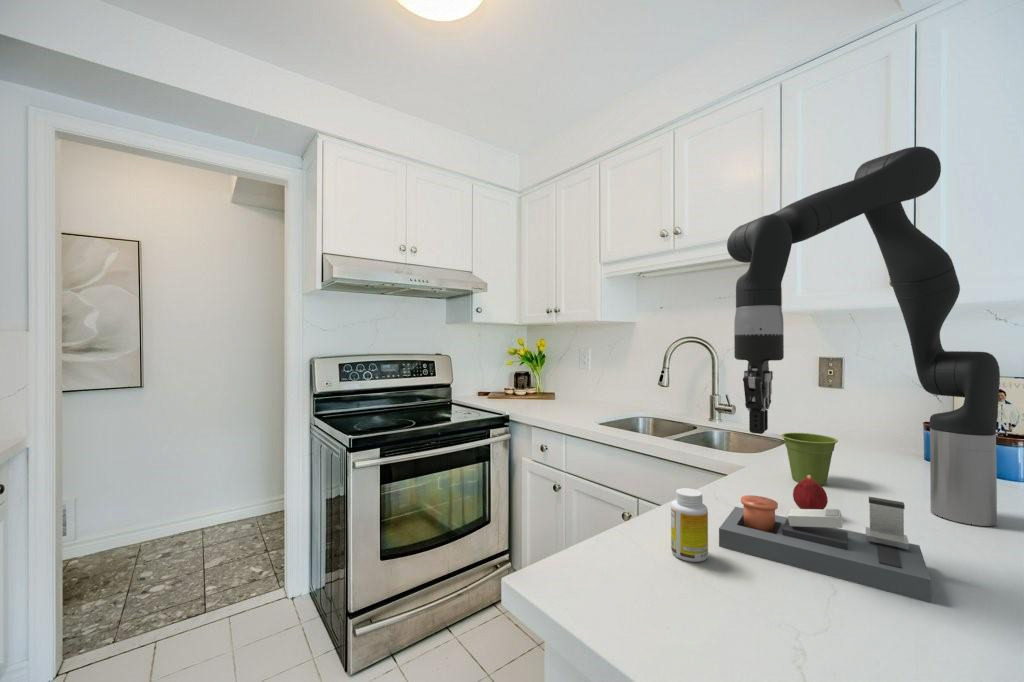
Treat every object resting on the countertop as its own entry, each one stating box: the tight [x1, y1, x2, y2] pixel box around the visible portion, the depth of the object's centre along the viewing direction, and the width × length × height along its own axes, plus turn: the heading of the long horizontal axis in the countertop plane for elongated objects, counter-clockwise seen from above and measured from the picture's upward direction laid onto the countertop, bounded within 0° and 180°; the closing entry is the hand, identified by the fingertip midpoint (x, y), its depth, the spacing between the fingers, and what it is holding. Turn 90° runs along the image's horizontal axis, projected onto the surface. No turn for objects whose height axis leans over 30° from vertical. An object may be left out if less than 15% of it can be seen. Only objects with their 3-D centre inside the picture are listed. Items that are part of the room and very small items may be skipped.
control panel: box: [718, 506, 932, 604], centre depth 71 cm, size 13×26×4 cm, turn 52°
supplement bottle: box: [670, 487, 709, 563], centre depth 70 cm, size 6×6×10 cm
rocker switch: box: [787, 508, 844, 529], centre depth 71 cm, size 4×7×2 cm, turn 52°
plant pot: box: [781, 432, 839, 486], centre depth 110 cm, size 12×12×11 cm
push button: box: [740, 494, 779, 532], centre depth 76 cm, size 6×6×4 cm
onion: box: [792, 475, 829, 510], centre depth 87 cm, size 6×6×8 cm
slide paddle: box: [865, 496, 909, 549], centre depth 68 cm, size 4×5×6 cm
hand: (758, 431), depth 76 cm, fingers open, 3 cm apart
